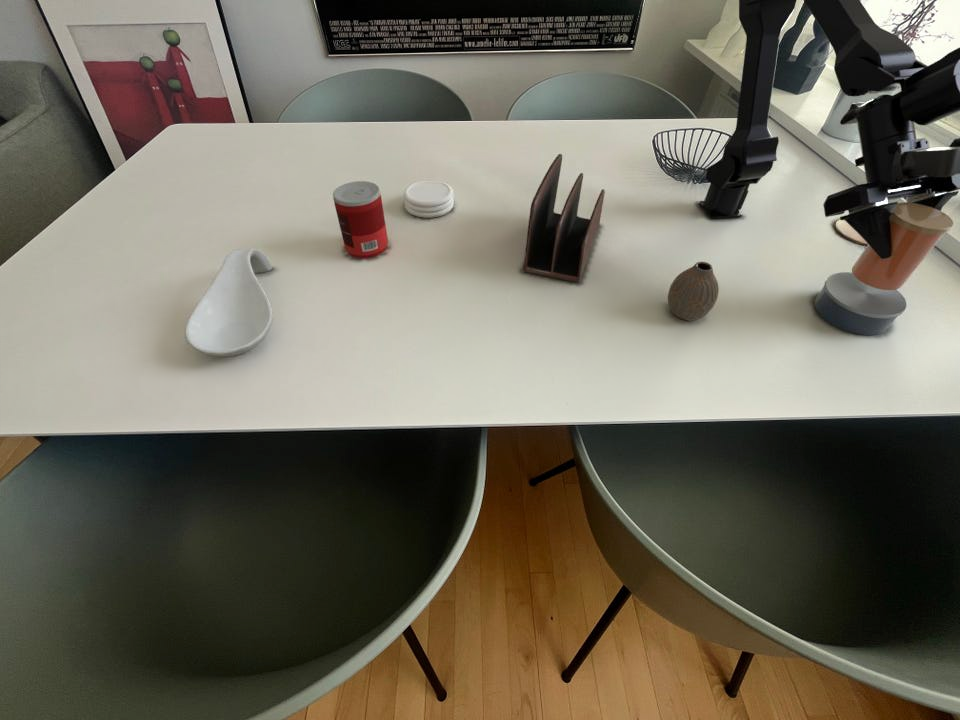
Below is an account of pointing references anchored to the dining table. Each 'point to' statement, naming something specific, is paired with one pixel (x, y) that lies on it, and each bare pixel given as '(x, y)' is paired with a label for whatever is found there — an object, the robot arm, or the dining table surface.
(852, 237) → the mat
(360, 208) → the canned food
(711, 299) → the vase
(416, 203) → the coaster
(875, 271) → the canister
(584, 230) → the letter holder
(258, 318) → the spoon rest
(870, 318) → the tin
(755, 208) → the dining table surface
